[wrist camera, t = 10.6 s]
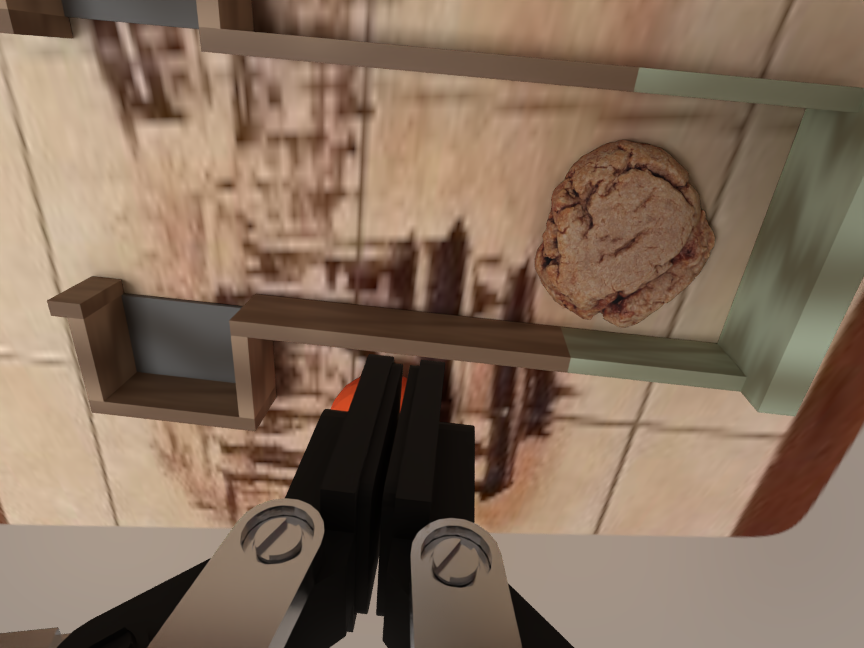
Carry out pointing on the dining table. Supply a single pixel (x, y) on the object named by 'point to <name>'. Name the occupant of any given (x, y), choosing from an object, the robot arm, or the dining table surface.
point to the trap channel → (467, 336)
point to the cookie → (623, 234)
